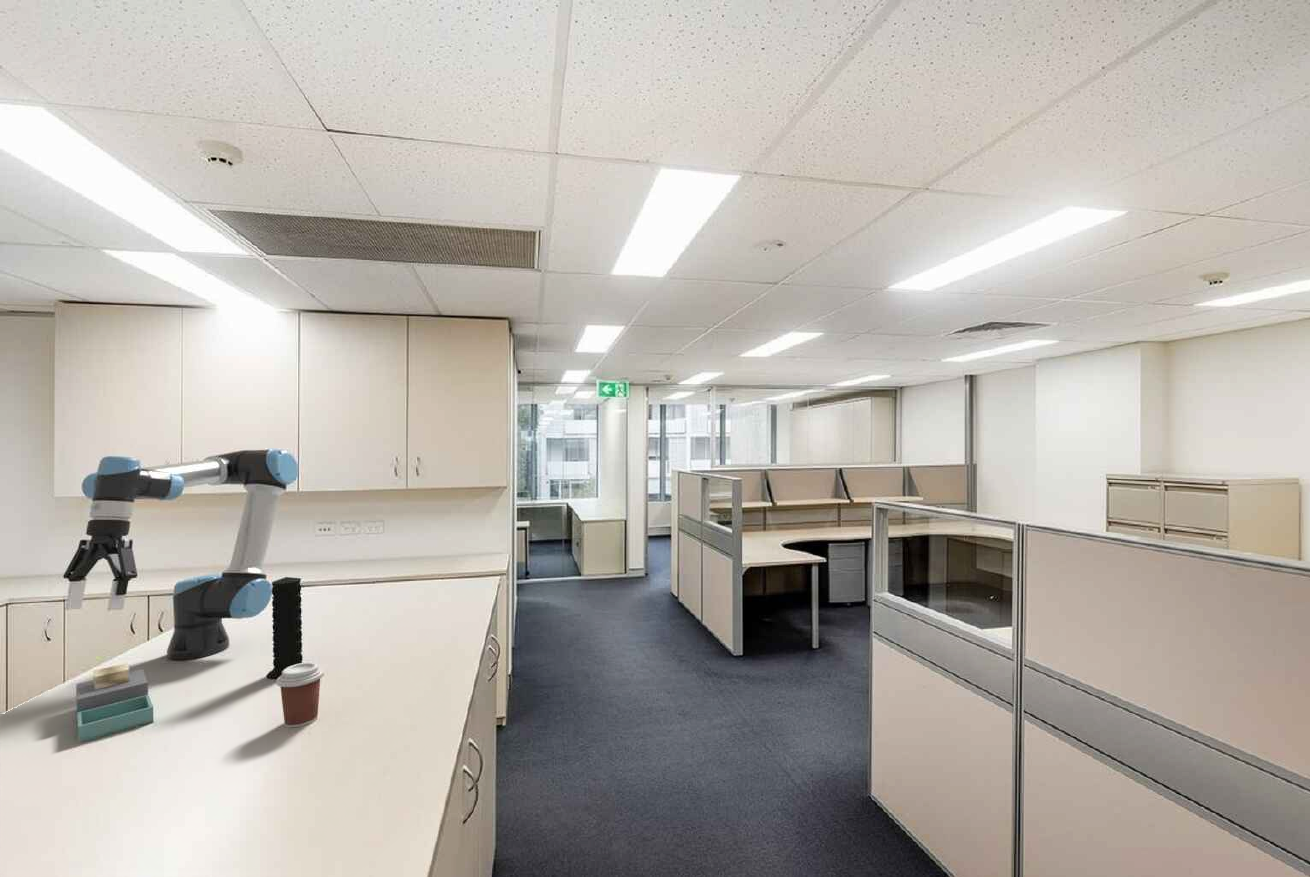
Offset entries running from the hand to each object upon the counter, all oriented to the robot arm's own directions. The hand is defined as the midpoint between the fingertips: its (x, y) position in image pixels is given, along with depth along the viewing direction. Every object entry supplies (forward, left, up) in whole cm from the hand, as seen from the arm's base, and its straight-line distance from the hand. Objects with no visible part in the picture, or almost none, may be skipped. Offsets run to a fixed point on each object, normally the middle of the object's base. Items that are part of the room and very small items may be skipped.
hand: (93, 609), depth 134 cm
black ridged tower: (-38, +6, -25) cm, 46 cm away
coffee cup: (-32, +42, -25) cm, 58 cm away
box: (-3, +11, -25) cm, 27 cm away
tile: (-3, -3, -19) cm, 19 cm away
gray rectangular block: (-3, -2, -25) cm, 25 cm away
